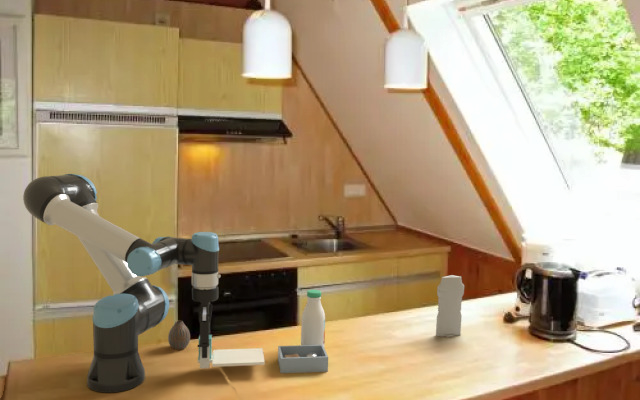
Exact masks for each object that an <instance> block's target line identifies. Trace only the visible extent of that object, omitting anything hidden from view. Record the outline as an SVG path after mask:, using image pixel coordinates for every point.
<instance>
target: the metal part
mask: <svg viewBox="0 0 640 400" xmlns="http://www.w3.org/2000/svg"><path fill="white" fill-rule="evenodd" d="M306 357H317V354H316V353H307V354H306Z"/></svg>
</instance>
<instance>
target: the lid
mask: <svg viewBox="0 0 640 400" xmlns="http://www.w3.org/2000/svg"><path fill="white" fill-rule="evenodd" d="M212 338H213V334H212V335H209V345H210V364H211V363H212V368H213V367H216V368H217V367H238V366H239V367H240V366H261V365H262V366H265V364H266V363H265V362H266V361H265V356H264V348H263V347H260V348H258V347H256V348H253V347H252V348H229V349H228V348H227V349H213V346H212V344H213V343H212V342H213V341H212V340H213V339H212ZM199 344H200V334H199V335H198V345H199ZM212 349H213V350H212ZM197 364H200V347H198V356H197Z"/></svg>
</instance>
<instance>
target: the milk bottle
mask: <svg viewBox="0 0 640 400" xmlns="http://www.w3.org/2000/svg"><path fill="white" fill-rule="evenodd" d="M306 298H307V300H306V301H307V302H306V305H305V307H304V308H303V309H302V314H301V327H300V335H301V336H300V345H323V346H324V347H325V345H326V343H325V342H326V341H325V340H326V335H325V334H326V314H325V310H324V308H323V305H322V302H321V299H322V291H321V290H318V289H309V290H307V291H306Z"/></svg>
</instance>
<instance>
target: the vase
mask: <svg viewBox="0 0 640 400" xmlns="http://www.w3.org/2000/svg"><path fill="white" fill-rule="evenodd" d="M167 337H168V338H167V340H168V344H169V346H170V347H171V349H173V350H175V351H180V350H184V349H186V348H187V347H188V345H189V343H190V341H191V333H190V329H189V328H188V326H186V324H185V323H184V321H183V320H176V321H175V322H174V324H173V325H172V326H171V328H170V330H169V332H168V336H167Z"/></svg>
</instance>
